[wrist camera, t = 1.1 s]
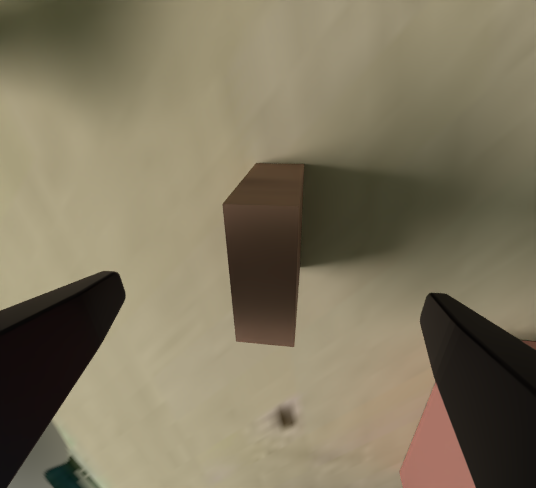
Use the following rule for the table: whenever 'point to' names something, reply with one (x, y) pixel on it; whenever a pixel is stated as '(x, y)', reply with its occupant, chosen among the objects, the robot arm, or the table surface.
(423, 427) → the coin box
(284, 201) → the block
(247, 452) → the table surface
